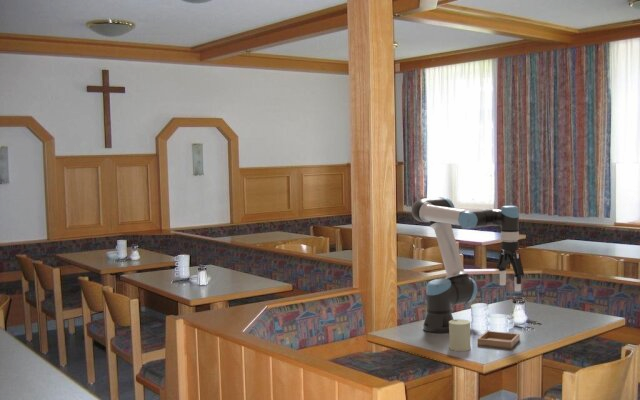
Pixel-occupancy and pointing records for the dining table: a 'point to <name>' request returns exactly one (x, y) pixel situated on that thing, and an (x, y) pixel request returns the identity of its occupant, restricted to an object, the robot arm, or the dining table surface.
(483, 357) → the dining table surface
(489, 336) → the brown square tray
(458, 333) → the can
